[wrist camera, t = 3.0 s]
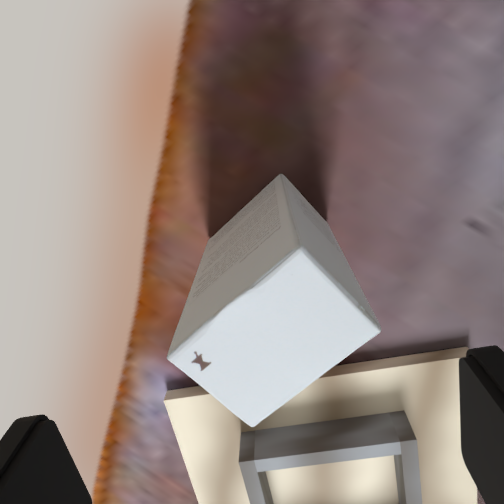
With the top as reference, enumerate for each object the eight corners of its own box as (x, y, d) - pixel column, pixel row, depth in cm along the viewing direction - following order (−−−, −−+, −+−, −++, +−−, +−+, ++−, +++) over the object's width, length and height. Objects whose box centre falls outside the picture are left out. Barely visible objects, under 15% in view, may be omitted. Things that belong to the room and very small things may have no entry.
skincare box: (256, 287, 26) (248, 434, 15) (206, 239, 25) (158, 359, 14) (332, 222, 24) (388, 333, 13) (282, 168, 23) (297, 239, 12)
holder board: (466, 346, 27) (494, 381, 24) (472, 538, 33) (494, 587, 30) (167, 390, 29) (154, 428, 26) (224, 564, 35) (220, 612, 32)
